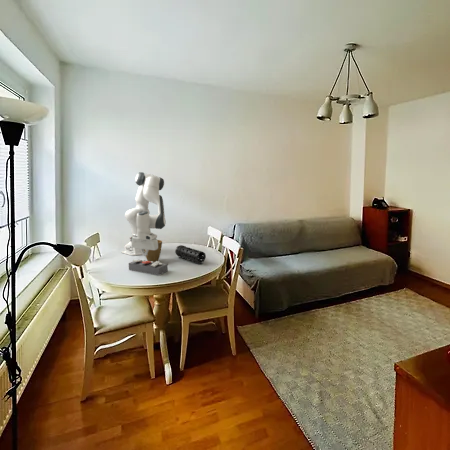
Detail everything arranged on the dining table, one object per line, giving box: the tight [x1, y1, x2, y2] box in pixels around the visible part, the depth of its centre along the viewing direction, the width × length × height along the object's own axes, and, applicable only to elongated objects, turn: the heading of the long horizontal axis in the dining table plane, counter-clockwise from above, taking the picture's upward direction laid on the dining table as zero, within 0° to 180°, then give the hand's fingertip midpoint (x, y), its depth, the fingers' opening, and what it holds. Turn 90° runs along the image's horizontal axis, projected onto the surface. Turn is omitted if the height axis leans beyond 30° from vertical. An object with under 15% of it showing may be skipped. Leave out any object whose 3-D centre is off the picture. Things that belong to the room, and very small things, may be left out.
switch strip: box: [128, 259, 169, 276], centre depth 209 cm, size 26×10×5 cm, turn 65°
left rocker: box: [132, 259, 143, 263], centre depth 211 cm, size 3×6×2 cm, turn 155°
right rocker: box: [151, 260, 161, 267], centre depth 204 cm, size 3×6×2 cm, turn 155°
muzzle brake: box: [174, 244, 206, 265], centre depth 233 cm, size 10×28×10 cm, turn 45°
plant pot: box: [144, 239, 163, 262], centre depth 229 cm, size 15×15×16 cm
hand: (145, 255), depth 204 cm, fingers closed
